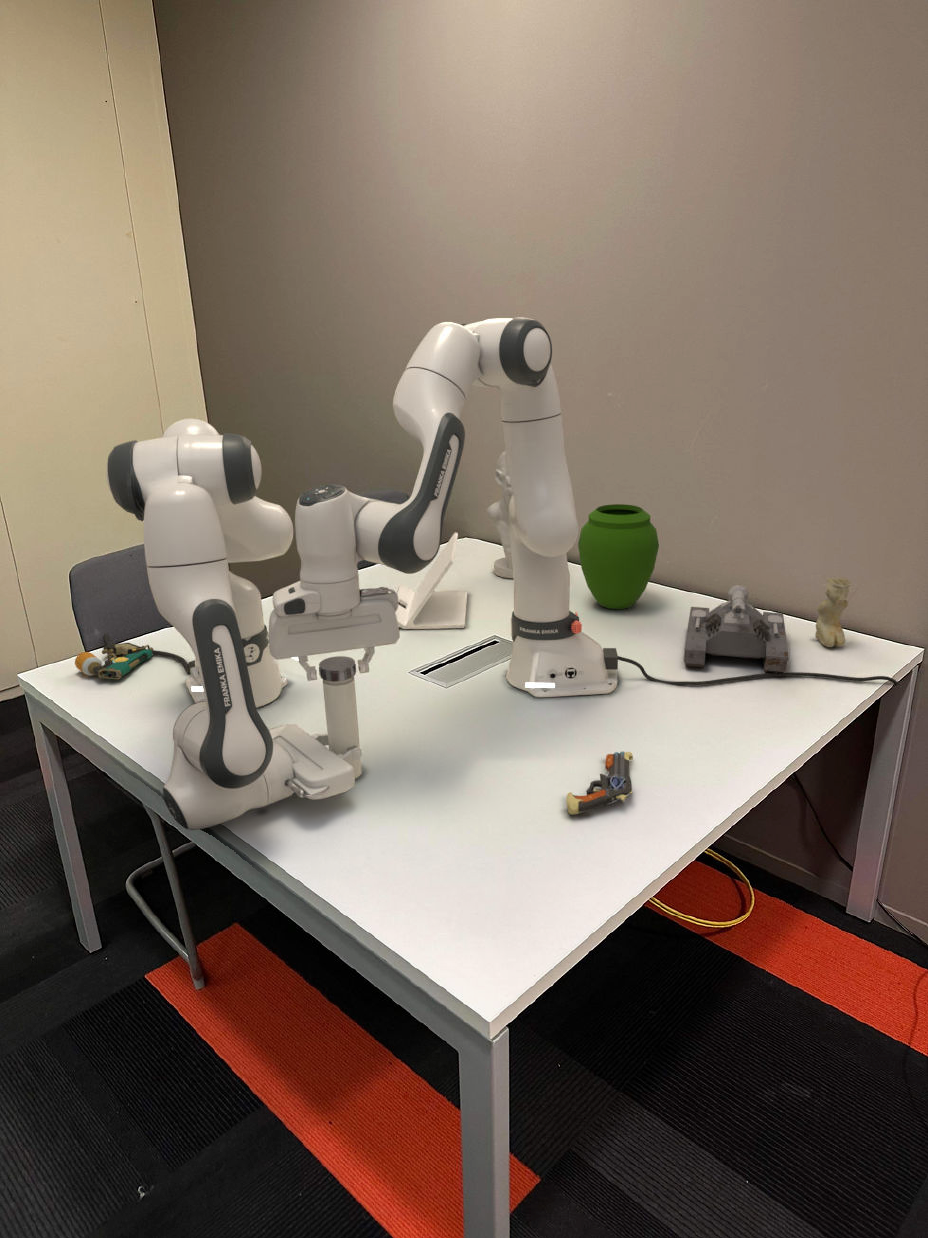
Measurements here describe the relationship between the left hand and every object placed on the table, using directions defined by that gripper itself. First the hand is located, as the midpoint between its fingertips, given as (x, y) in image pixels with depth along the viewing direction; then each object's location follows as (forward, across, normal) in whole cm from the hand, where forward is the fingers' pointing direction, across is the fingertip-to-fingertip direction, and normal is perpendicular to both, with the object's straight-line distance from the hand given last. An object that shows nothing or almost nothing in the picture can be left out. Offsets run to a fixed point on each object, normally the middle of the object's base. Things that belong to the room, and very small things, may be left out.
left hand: (348, 743), depth 141 cm
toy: (+89, -12, +5) cm, 90 cm away
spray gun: (-16, +72, +5) cm, 73 cm away
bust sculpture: (+93, +59, +5) cm, 110 cm away
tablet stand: (+56, +54, +5) cm, 78 cm away
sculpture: (+108, -23, +5) cm, 110 cm away
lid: (-1, 0, -14) cm, 14 cm away
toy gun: (+28, -31, +5) cm, 42 cm away
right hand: (-1, 0, -13) cm, 13 cm away
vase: (+93, +25, +5) cm, 96 cm away
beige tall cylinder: (-1, 0, +5) cm, 5 cm away
